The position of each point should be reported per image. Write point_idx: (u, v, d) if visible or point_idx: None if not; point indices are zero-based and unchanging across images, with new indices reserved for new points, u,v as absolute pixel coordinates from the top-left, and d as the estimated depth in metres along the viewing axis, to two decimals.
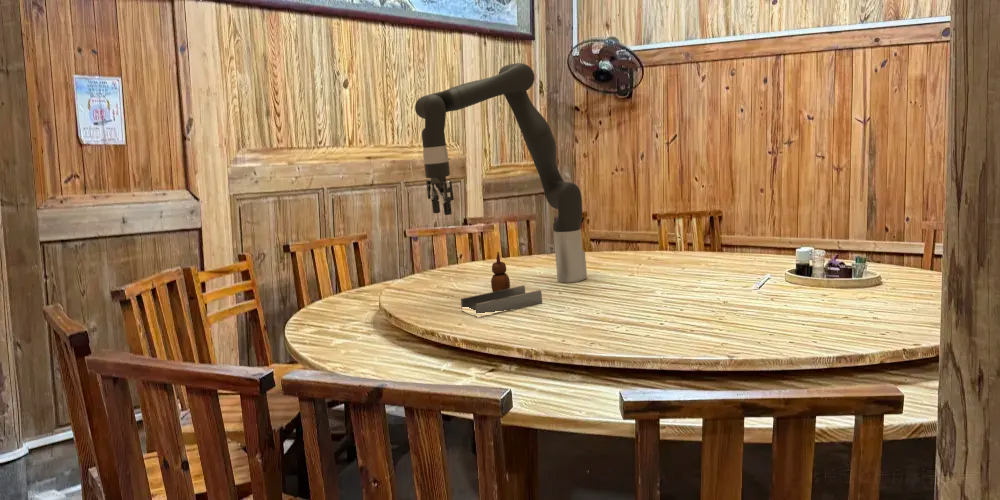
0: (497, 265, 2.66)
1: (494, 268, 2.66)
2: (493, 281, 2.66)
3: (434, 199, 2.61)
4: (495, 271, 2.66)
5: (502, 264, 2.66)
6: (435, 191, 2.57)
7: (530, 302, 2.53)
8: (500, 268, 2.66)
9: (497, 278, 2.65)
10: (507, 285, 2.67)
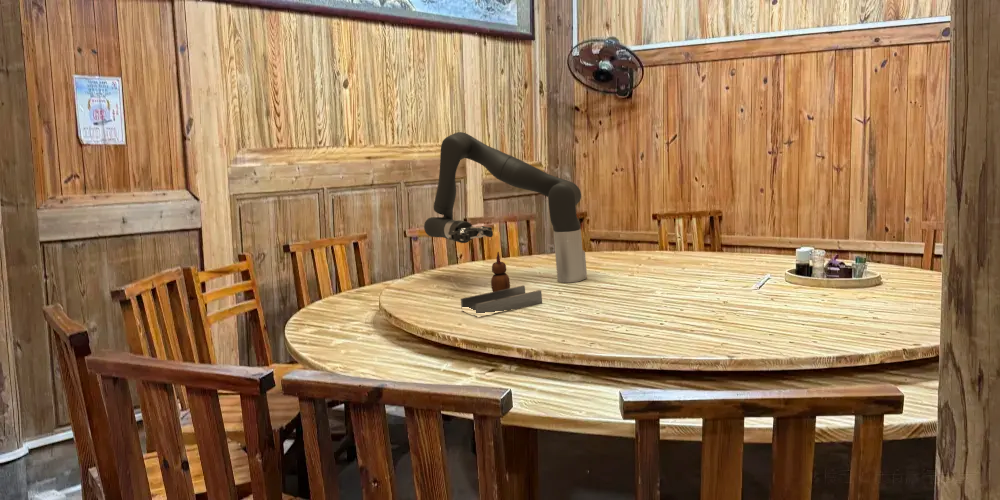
0: (497, 265, 2.66)
1: (494, 268, 2.66)
2: (493, 281, 2.66)
3: (485, 233, 2.82)
4: (495, 271, 2.66)
5: (502, 264, 2.66)
6: (472, 236, 2.83)
7: (530, 302, 2.53)
8: (500, 268, 2.66)
9: (497, 278, 2.65)
10: (507, 285, 2.67)
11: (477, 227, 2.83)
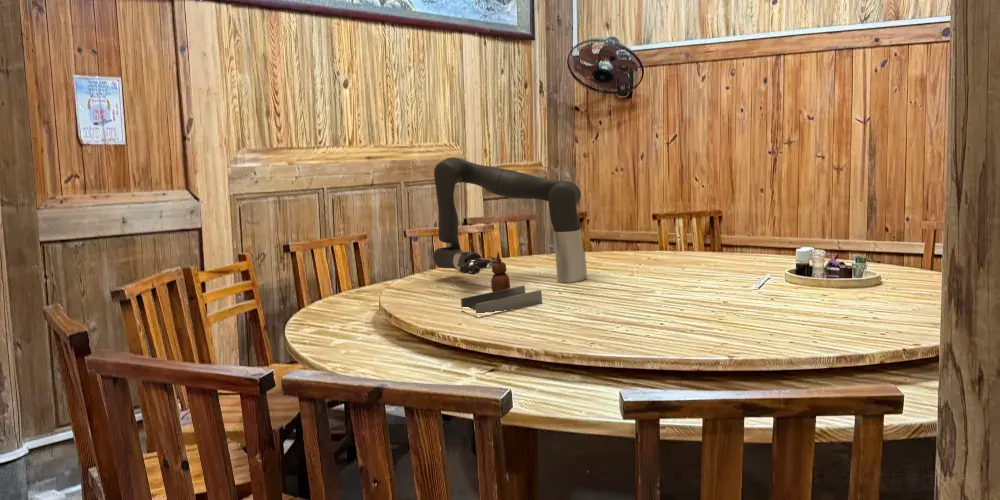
0: (497, 265, 2.66)
1: (494, 268, 2.66)
2: (493, 281, 2.66)
3: None
4: (495, 271, 2.66)
5: (502, 264, 2.66)
6: None
7: (530, 302, 2.53)
8: (500, 268, 2.66)
9: (497, 278, 2.65)
10: (507, 285, 2.67)
11: None
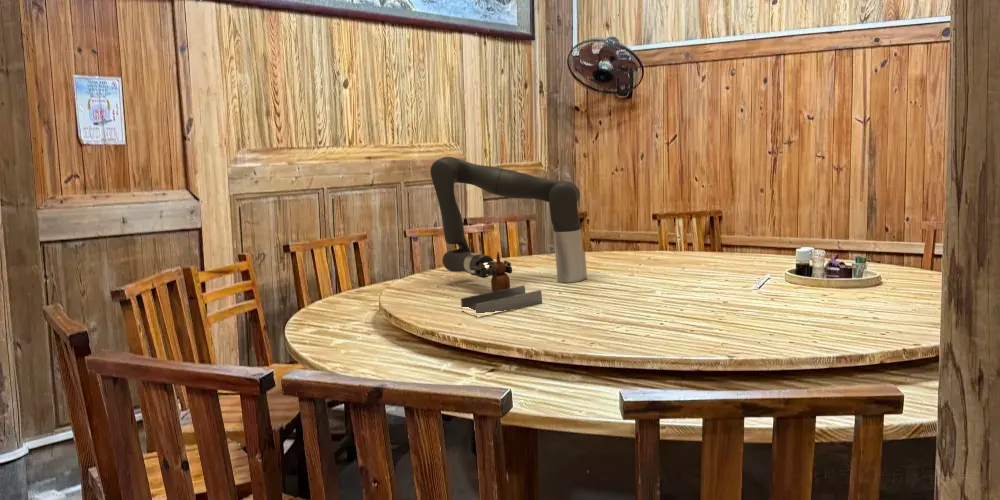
0: (497, 265, 2.66)
1: (494, 268, 2.66)
2: (493, 281, 2.66)
3: None
4: None
5: (502, 264, 2.66)
6: None
7: (530, 302, 2.53)
8: (500, 268, 2.66)
9: (497, 278, 2.65)
10: (507, 285, 2.67)
11: None
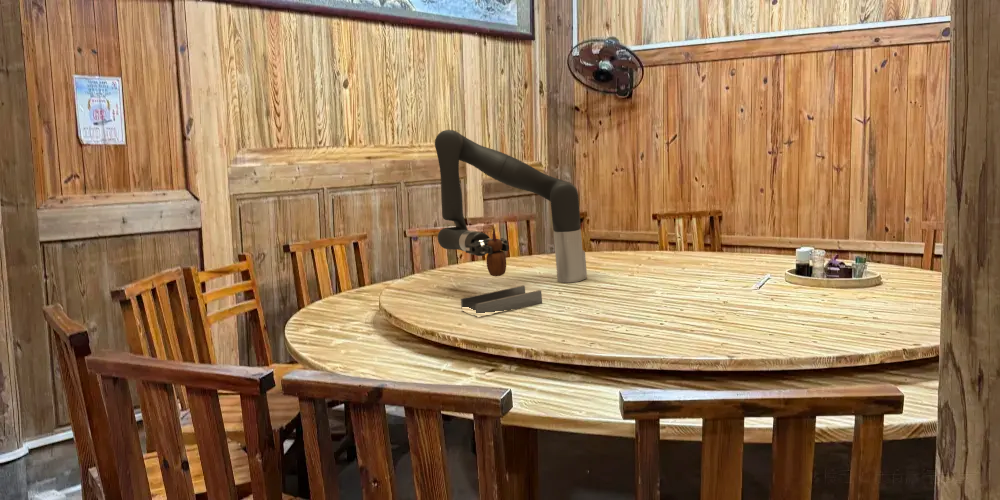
0: (493, 242, 2.54)
1: (490, 245, 2.54)
2: (488, 259, 2.54)
3: None
4: None
5: (498, 241, 2.54)
6: None
7: (530, 302, 2.53)
8: (496, 245, 2.54)
9: (493, 256, 2.54)
10: (503, 263, 2.55)
11: None
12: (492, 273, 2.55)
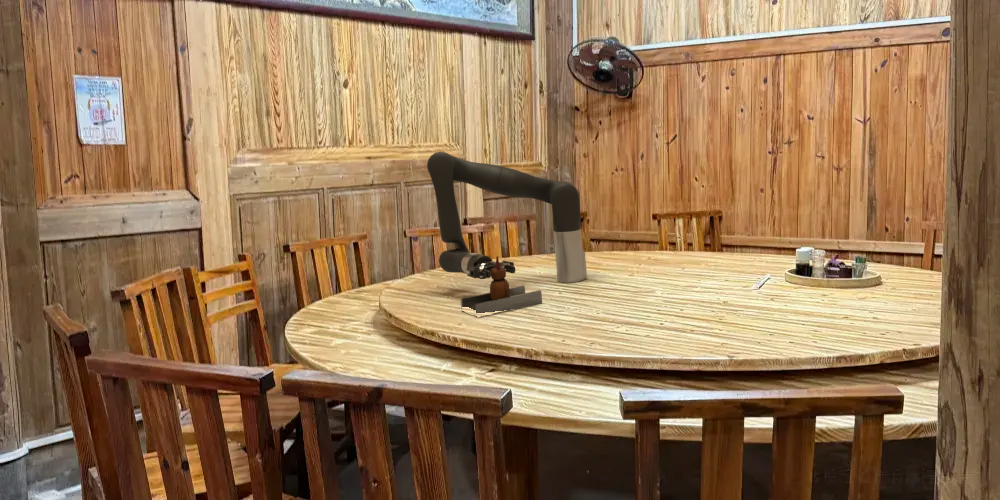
0: (496, 270, 2.51)
1: (493, 274, 2.51)
2: (492, 287, 2.51)
3: (506, 269, 2.57)
4: (494, 277, 2.51)
5: (501, 269, 2.52)
6: None
7: (530, 302, 2.53)
8: (499, 274, 2.51)
9: (496, 284, 2.51)
10: (507, 291, 2.52)
11: None
12: None
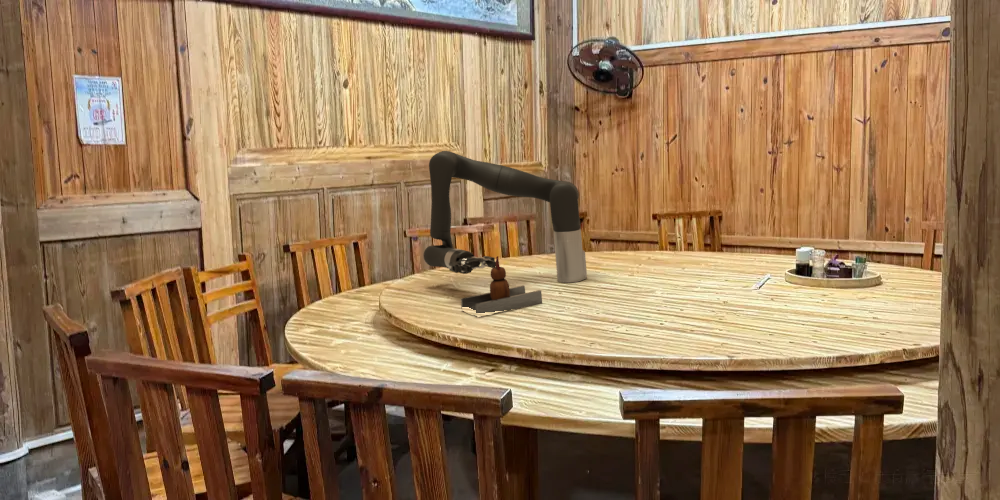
0: (496, 270, 2.51)
1: (493, 274, 2.51)
2: (492, 287, 2.51)
3: (487, 263, 2.68)
4: (494, 277, 2.51)
5: (501, 269, 2.52)
6: None
7: (530, 302, 2.53)
8: (499, 274, 2.51)
9: (496, 284, 2.51)
10: (507, 292, 2.52)
11: (479, 257, 2.69)
12: None
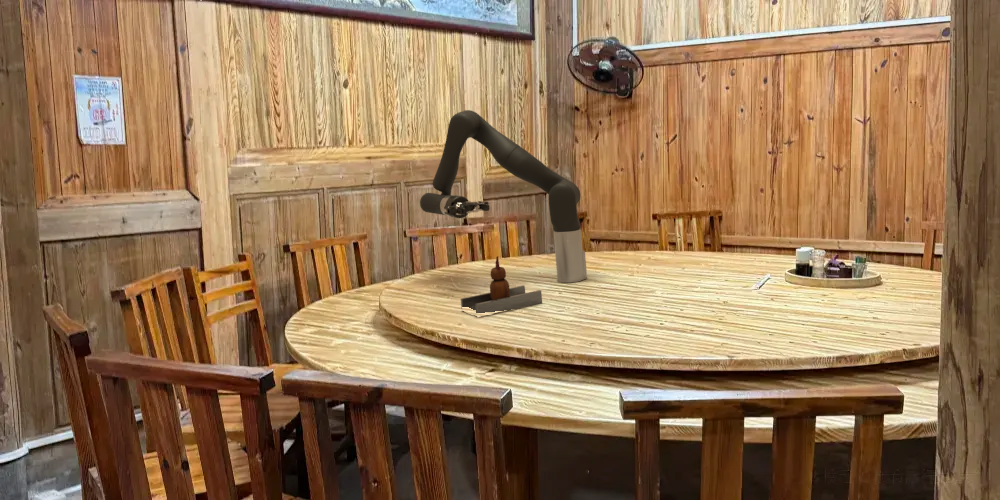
0: (496, 270, 2.51)
1: (493, 274, 2.51)
2: (492, 287, 2.51)
3: (481, 207, 2.77)
4: (494, 277, 2.51)
5: (501, 269, 2.52)
6: (468, 211, 2.78)
7: (530, 302, 2.53)
8: (499, 274, 2.51)
9: (496, 284, 2.51)
10: (507, 292, 2.52)
11: None
12: None
